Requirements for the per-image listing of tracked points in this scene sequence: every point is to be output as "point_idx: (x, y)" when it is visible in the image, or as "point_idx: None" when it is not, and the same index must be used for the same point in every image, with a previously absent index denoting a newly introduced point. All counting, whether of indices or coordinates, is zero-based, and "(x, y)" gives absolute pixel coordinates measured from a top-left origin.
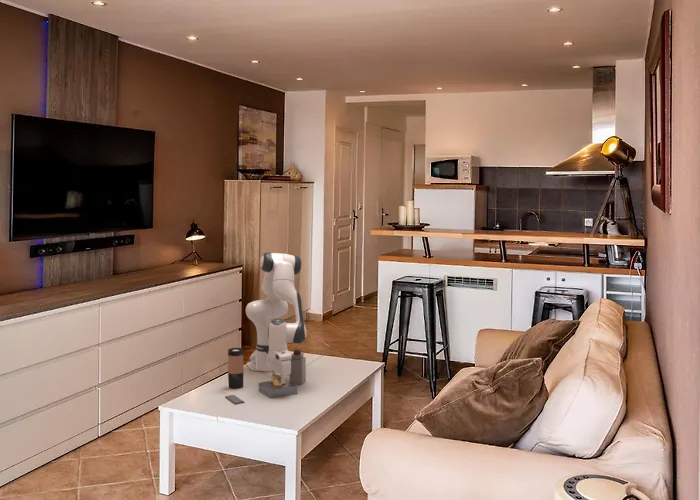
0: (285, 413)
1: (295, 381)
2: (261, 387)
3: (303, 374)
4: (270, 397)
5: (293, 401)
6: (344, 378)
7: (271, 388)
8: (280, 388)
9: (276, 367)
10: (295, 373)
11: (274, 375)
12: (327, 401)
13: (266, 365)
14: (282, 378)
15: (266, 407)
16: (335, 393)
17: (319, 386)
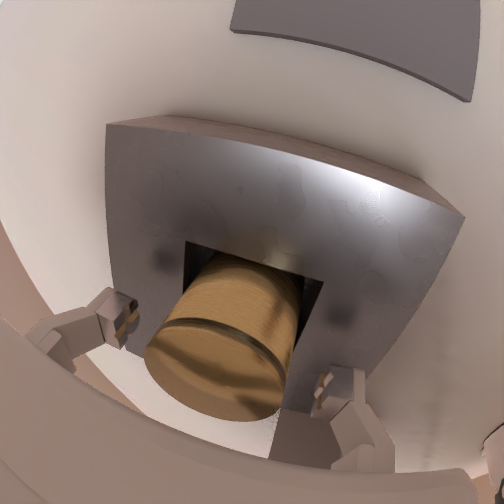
0: (8, 91)
1: (308, 424)
2: (382, 174)
3: None
4: (167, 117)
5: (86, 219)
6: None
7: (144, 158)
8: (108, 229)
9: (66, 464)
10: (301, 465)
11: (267, 391)
12: (58, 307)
13: (471, 486)
14: (62, 317)
15: (84, 29)
16: (125, 383)
17: (229, 423)
